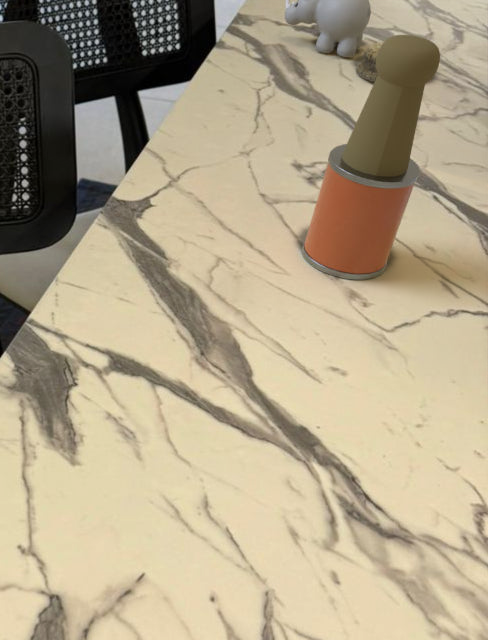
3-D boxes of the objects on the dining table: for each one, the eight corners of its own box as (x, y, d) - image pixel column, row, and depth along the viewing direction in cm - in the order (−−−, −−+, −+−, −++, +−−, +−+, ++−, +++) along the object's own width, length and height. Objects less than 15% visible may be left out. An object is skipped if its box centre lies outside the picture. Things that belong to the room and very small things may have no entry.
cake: (351, 86, 138) (360, 45, 134) (357, 63, 145) (365, 23, 141) (429, 94, 135) (440, 52, 132) (431, 71, 142) (441, 30, 139)
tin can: (394, 253, 102) (428, 158, 96) (373, 289, 97) (408, 191, 90) (315, 229, 105) (343, 135, 98) (290, 262, 99) (318, 165, 93)
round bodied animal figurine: (285, 30, 151) (299, -32, 146) (364, 49, 148) (383, -14, 142) (270, 43, 147) (285, -20, 141) (352, 63, 143) (370, -1, 137)
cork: (352, 141, 97) (389, 22, 90) (415, 160, 95) (458, 38, 88) (333, 163, 93) (369, 39, 86) (398, 183, 91) (441, 57, 84)
